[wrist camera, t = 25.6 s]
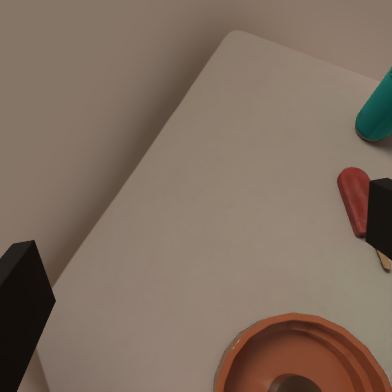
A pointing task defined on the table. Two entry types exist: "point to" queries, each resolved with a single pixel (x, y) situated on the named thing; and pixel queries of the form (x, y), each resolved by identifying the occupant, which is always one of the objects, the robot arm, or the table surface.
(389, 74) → the beverage can
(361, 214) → the popsicle
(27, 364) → the robot arm
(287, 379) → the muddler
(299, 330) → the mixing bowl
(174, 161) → the table surface
